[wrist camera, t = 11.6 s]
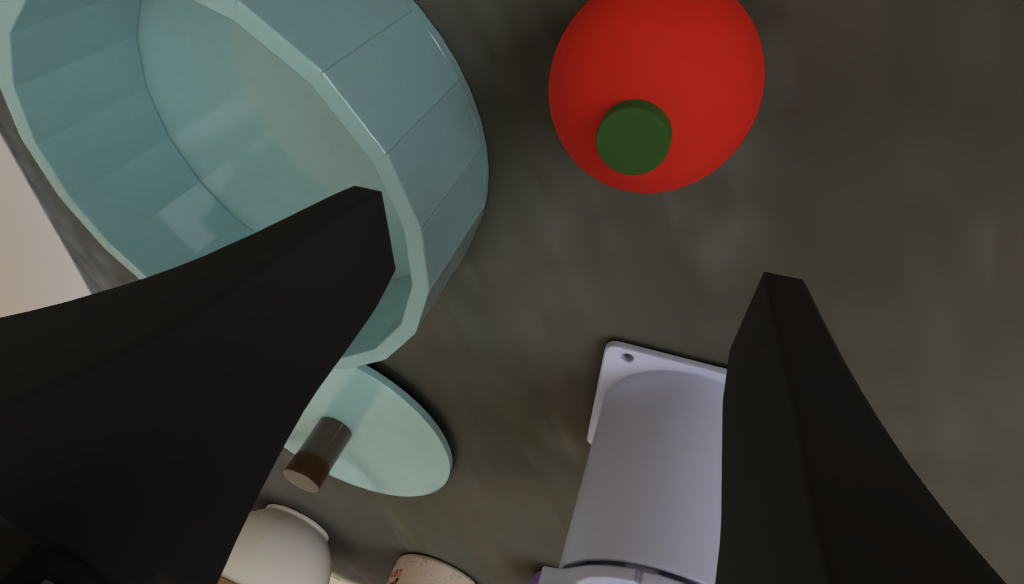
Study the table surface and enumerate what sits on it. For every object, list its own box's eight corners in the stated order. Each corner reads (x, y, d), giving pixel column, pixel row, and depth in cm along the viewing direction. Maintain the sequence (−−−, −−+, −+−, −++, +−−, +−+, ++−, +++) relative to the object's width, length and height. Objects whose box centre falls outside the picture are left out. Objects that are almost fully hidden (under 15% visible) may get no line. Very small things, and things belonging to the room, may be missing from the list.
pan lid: (448, 371, 30) (405, 451, 26) (462, 507, 41) (433, 576, 38) (200, 299, 34) (133, 362, 30) (275, 443, 45) (233, 500, 41)
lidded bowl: (255, 524, 62) (184, 629, 55) (230, 472, 53) (140, 589, 46) (357, 567, 61) (298, 681, 53) (348, 521, 52) (275, 652, 44)
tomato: (795, -44, 13) (804, 33, 10) (733, 149, 17) (722, 261, 13) (586, -63, 15) (519, -2, 11) (568, 122, 18) (515, 217, 14)
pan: (485, -73, 15) (390, -18, 11) (491, 313, 26) (443, 408, 22) (58, -113, 19) (-124, -80, 15) (218, 243, 29) (135, 315, 25)
